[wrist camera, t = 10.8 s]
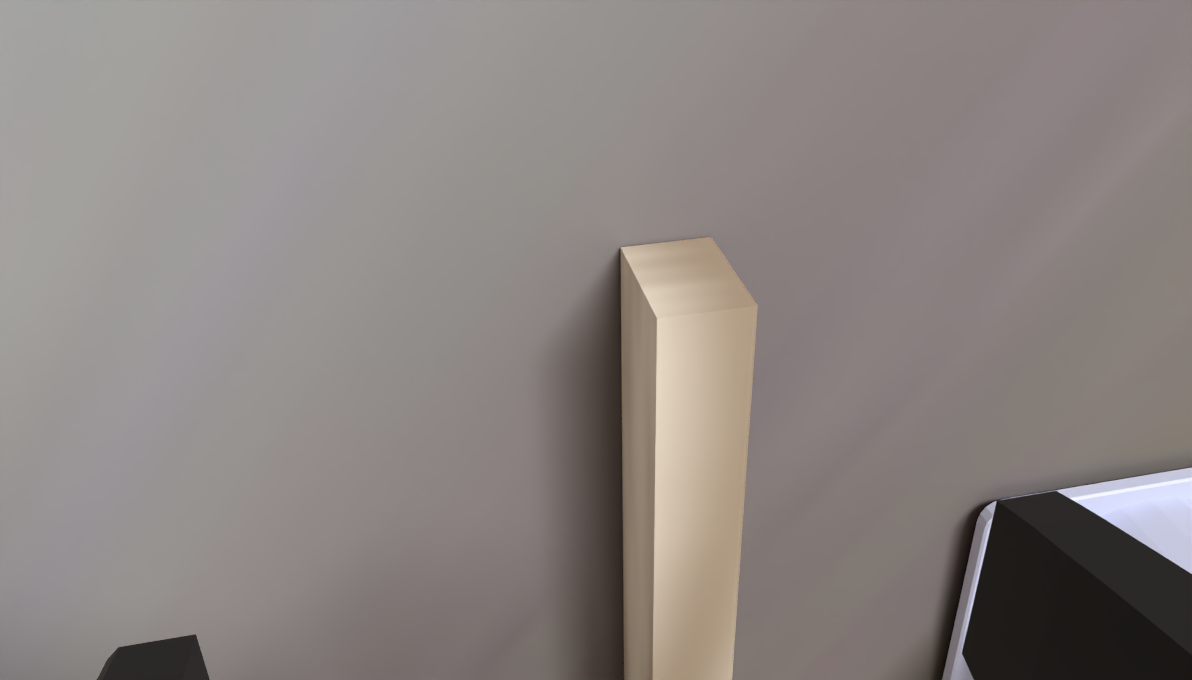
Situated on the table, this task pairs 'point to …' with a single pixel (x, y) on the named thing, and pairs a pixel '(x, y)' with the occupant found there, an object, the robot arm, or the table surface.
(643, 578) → the gauge bed
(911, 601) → the table surface
